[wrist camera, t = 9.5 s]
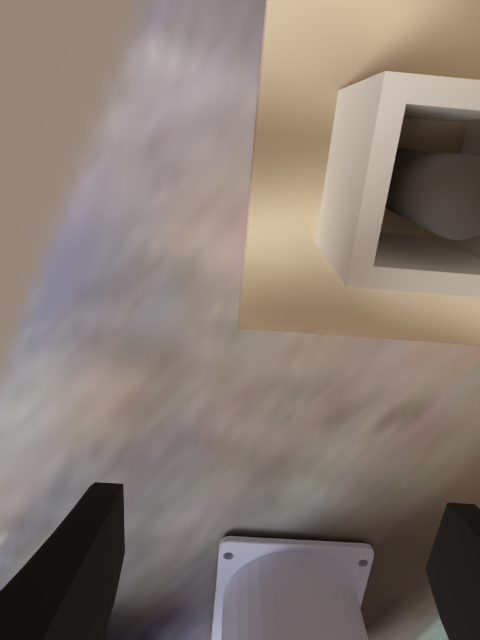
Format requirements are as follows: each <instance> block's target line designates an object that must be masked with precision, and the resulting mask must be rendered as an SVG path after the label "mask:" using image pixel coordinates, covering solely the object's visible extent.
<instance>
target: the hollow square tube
mask: <svg viewBox="0 0 480 640" xmlns="http://www.w3.org/2000/svg"><path fill="white" fill-rule="evenodd" d="M403 117H407V118H418V119H428V120H439V121H450V122H461V123H467V125H466V129H465V133H464V137H463V141H462V145H461V149H460V153H459V154H464V155H474V156H480V80H474V79H464V78H453V77H443V76H433V75H422V74H412V73H402V72H392V71H384V72H382V73H379V74H377V75H374V76H372V77H369V78H367V79H365V80H362V81H360V82H357V83H355V84H353V85H350V86H348V87H345V88H343V89H340V90H338V96H337V103H336V110H335V116H334V123H333V130H332V136H331V143H330V150H329V157H328V163H327V170H326V177H325V183H324V190H323V197H322V203H321V210H320V217H319V224H318V230H317V237H316V245H317V246H318V248H319V249H320V251H321V252H322V253H323V255H324V256H325V258H326V259H327V260H328V262H329V263H330V265H331V266H332V268H333V269H334V270H335V272H336V273H337V275H338V276H339V277H340V279H341V280H342V282H343V283H344V284H345V286H346V287H355V288H367V289H380V290H393V291H406V292H418V293H431V294H444V295H457V296H469V297H480V234H478V235H476V236H474V237H471V238H467V239H462V240H451V239H447V238H444V237H441V236H438V237H431V236H419V235H407V234H395V233H383V232H380V231H381V226H382V221H383V216H384V211H385V206H386V201H387V196H388V191H389V186H390V181H391V176H392V171H393V166H394V161H395V156H396V151H397V146H398V142H399V137H400V132H401V127H402V122H403Z"/></svg>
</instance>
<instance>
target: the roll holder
mask: <svg viewBox="0 0 480 640" xmlns="http://www.w3.org/2000/svg"><path fill="white" fill-rule="evenodd" d="M384 71H392V72H402V73H412V74H422V75H433V76H443V77H453V78H464V79H474V80H480V0H266V6H265V18H264V29H263V41H262V52H261V64H260V76H259V87H258V99H257V111H256V122H255V134H254V145H253V157H252V169H251V180H250V192H249V204H248V215H247V227H246V239H245V250H244V262H243V273H242V285H241V297H240V308H239V328H243V329H257V330H271V331H285V332H299V333H313V334H327V335H341V336H355V337H369V338H383V339H397V340H411V341H425V342H439V343H453V344H467V345H480V297H469V296H457V295H444V294H431V293H418V292H406V291H393V290H380V289H367V288H355V287H346V286H345V284H344V283H343V282H342V280H341V279H340V277H339V276H338V275H337V273H336V272H335V270H334V269H333V268H332V266H331V265H330V263H329V262H328V260H327V259H326V258H325V256H324V255H323V253H322V252H321V251H320V249H319V248H318V246H317V245H316V237H317V230H318V224H319V217H320V210H321V203H322V197H323V190H324V183H325V177H326V170H327V163H328V157H329V150H330V143H331V136H332V130H333V123H334V116H335V110H336V103H337V96H338V90H340V89H343V88H345V87H348V86H350V85H353V84H355V83H357V82H360V81H362V80H365V79H367V78H369V77H372V76H374V75H377V74H379V73H382V72H384ZM466 125H467V123H461V122H450V121H439V120H428V119H418V118H407V117H403V122H402V127H401V132H400V137H399V142H398V146H397V151H396V156H395V161H394V166H393V171H392V176H391V181H390V186H389V191H388V196H387V201H386V206H385V211H384V216H383V221H382V226H381V231H380V232H383V233H395V234H407V235H419V236H431V237H438V236H441V237H444V238H447V239H451V240H462V239H467V238H471V237H474V236H476V235H478V234H480V156H474V155H464V154H459V153H460V149H461V145H462V141H463V137H464V133H465V129H466Z"/></svg>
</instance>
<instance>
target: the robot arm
mask: <svg viewBox="0 0 480 640" xmlns="http://www.w3.org/2000/svg"><path fill="white" fill-rule="evenodd" d="M227 552H230V553H227ZM124 554H125V542H124V497H123V484H115V483H98V482H95V483H94V484H92V485H91V486H90V487H89V488H88V490H87V491H86V492H85V494H84V495H83V496H82V498H81V499H80V500H79V501H78V503H77V504H76V505H75V507H74V508H73V509H72V510H71V512H70V513H69V514H68V515H67V517H66V518H65V519H64V520H63V521H62V523H61V524H60V525H59V526H58V527H57V529H56V530H55V531H54V532H53V533H52V535H51V536H50V537H49V538H48V539H47V540H46V542H45V543H44V544H43V545H42V546H41V547H40V548H39V550H38V551H37V552H36V553H35V554H34V555H33V556H32V558H31V559H30V560H29V561H28V562H27V563H26V564H25V565H24V567H23V568H22V569H21V570H20V571H19V572H18V573H17V574H16V575H15V576H14V577H13V578H12V579H11V580H10V581H9V583H8V584H7V585H6V586H5V587H4V588H3V589H2V590H1V591H0V640H103V637H104V633H105V630H106V627H107V624H108V621H109V618H110V614H111V611H112V608H113V605H114V601H115V596H116V592H117V587H118V583H119V578H120V573H121V568H122V563H123V559H124ZM373 559H374V551H373V548H372V546H371V545H369V544H365V543H349V542H331V541H313V540H294V539H276V538H258V537H239V536H226V537H224V538H222V539H221V540H220V543H219V555H218V566H217V578H216V589H215V601H214V613H213V624H212V636H211V640H368V636H367V632H366V628H365V624H364V621H363V617H362V613H361V609H360V607H361V604H362V600H363V596H364V592H365V589H366V585H367V581H368V577H369V574H370V570H371V566H372V562H373ZM426 572H427V575H428V579H429V582H430V586H431V589H432V593H433V596H434V599H435V603H436V606H437V609H438V612H439V615H440V619H441V621H442V624H443V626H444V628H445V631H446V633H447V636H448V638H449V640H480V509H479V508H478V507H477V506H475V505H474V504H459V503H447V505H446V508H445V511H444V514H443V518H442V521H441V524H440V527H439V530H438V533H437V536H436V539H435V542H434V545H433V548H432V551H431V554H430V557H429V560H428V563H427V566H426Z"/></svg>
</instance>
